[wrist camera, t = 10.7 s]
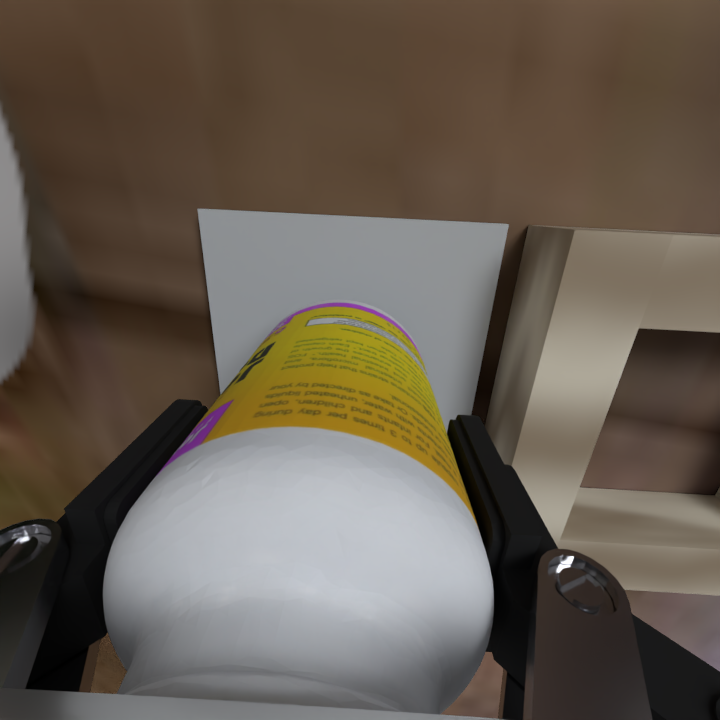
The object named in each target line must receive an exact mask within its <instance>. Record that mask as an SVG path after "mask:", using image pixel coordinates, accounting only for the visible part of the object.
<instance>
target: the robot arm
mask: <svg viewBox="0 0 720 720" xmlns="http://www.w3.org/2000/svg"><path fill="white" fill-rule="evenodd" d="M207 412H208V409H207V407H206V406H202V404H201V402H200V401H198V400H181V399H179V400H176V401H175V402H173V403H172V404H171V405H170V406H169V407H168V408H167V409H166V410H165V411H164V412H163V413H162V414H161V415H160V416H159V417H158V418H157V419H156V420H155V421H154V422H153V423H152V424H151V425H150V426H149V427H148V428H147V429H146V430H145V431H144V432H143V433H142V434H141V435H140V436H139V437H137V438H136V439H135V440H134V441H133V442H132V443H131V444H130V445H129V446H128V447H127V448H126V449H125V450H124V451H123V452H122V453H121V454H120V455H119V456H118V457H117V458H116V459H115V460H114V461H113V462H112V463H111V464H110V465H109V466H108V467H107V468H106V469H105V470H104V471H102V472H101V473H100V474H99V475H98V476H97V477H96V478H95V479H94V480H93V481H92V482H91V483H90V484H89V485H88V486H87V487H86V488H85V489H84V490H83V491H82V492H81V493H80V494H79V495H78V496H77V497H76V498H75V499H74V500H73V501H72V502H71V503H70V504H69V505H67V506H66V507H65V508H64V510H65V512H66V513H65V514H64V515H63V516H62V517H61V518H60V519H59V520H58V521H57V522H55V521H53V520H51V519H34V520H27V521H24V522H20V523H17V524H14V525H11V526H9V527H7V528H4V529H2V530H0V720H720V672H719V671H718V670H716V669H715V668H713V667H712V666H710V665H709V664H707V663H706V662H704V661H703V660H701V659H700V658H698V657H697V656H695V655H694V654H692V653H691V652H689V651H687V650H686V649H684V648H683V647H681V646H680V645H678V644H677V643H675V642H674V641H672V640H671V639H669V638H668V637H666V636H665V635H663V634H662V633H660V632H659V631H657V630H656V629H654V628H653V627H651V626H650V625H648V624H647V623H645V622H643V621H642V620H640V619H639V618H637V617H636V616H634V615H633V614H632V613H631V608H630V603H629V600H628V598H627V595H626V592H625V590H624V589H623V587H622V586H621V584H620V583H619V582H618V580H617V579H616V578H615V577H614V576H613V575H612V574H611V573H610V572H609V571H608V570H607V569H606V568H605V567H604V566H602V565H601V564H599V563H598V562H596V561H595V560H594V559H592V558H590V557H588V556H586V555H584V554H582V553H580V552H576V551H572V550H569V549H558V547H557V545H556V543H555V542H554V540H553V538H552V536H551V534H550V533H549V531H548V529H547V527H546V525H545V524H544V522H543V520H542V518H541V516H540V515H539V513H538V511H537V509H536V507H535V506H534V504H533V502H532V500H531V498H530V496H529V495H528V493H527V491H526V489H525V487H524V486H523V484H522V482H521V480H520V478H519V477H518V475H517V473H516V471H515V470H514V468H513V467H512V466H511V465H507V464H504V463H503V461H502V459H501V457H500V455H499V453H498V451H497V449H496V447H495V445H494V443H493V442H492V440H491V438H490V436H489V434H488V432H487V430H486V428H485V426H484V424H483V423H482V421H481V419H480V417H479V416H474V415H457V417H456V420H454V419H451V420H450V421H449V424H448V430H447V436H448V439H449V442H450V445H451V448H452V450H453V454H454V457H455V460H456V463H457V466H458V469H459V472H460V475H461V478H462V481H463V484H464V487H465V490H466V493H467V496H468V499H469V502H470V504H471V507H472V510H473V513H474V516H475V519H476V522H477V525H478V528H479V532H480V535H481V538H482V542H483V545H484V548H485V551H486V554H487V558H488V561H489V566H490V570H491V575H492V580H493V589H494V614H493V625H492V629H491V634H490V638H489V643H488V646H487V649H486V651H485V652H492V654H493V657H494V660H495V661H496V662H497V663H498V664H499V665H501V666H502V667H503V676H502V685H501V694H500V703H499V712H498V719H494V718H481V717H467V716H452V715H437V714H422V713H408V712H393V711H378V710H363V709H349V708H334V707H318V706H302V705H286V704H270V703H254V702H238V701H222V700H205V699H189V698H172V697H156V696H138V695H120V694H103V693H90V691H91V686H92V681H93V676H94V671H95V666H96V661H97V656H98V652H99V647H100V642H101V638H103V637H104V636H105V635H106V634H107V632H108V631H107V627H106V623H105V616H104V607H103V582H104V574H105V569H106V564H107V559H108V556H109V553H110V549H111V546H112V544H113V541H114V539H115V536H116V534H117V532H118V530H119V528H120V526H121V524H122V523H123V521H124V519H125V517H126V515H127V514H128V512H129V510H130V509H131V508H132V506H133V505H134V504H135V502H136V501H137V500H138V498H139V497H140V496H141V494H142V493H143V492H144V491H145V489H146V488H147V487H148V485H149V484H150V483H151V482H152V480H153V479H154V478H155V477H156V475H157V474H158V473H159V472H160V470H161V469H162V468H163V467H164V465H165V464H166V463H167V462H168V460H169V459H170V458H171V457H172V455H173V454H174V453H175V452H176V450H177V449H178V448H179V447H180V446H181V444H182V443H183V442H184V441H185V439H186V438H187V437H188V436H189V434H190V433H191V432H192V430H193V429H194V428H195V427H196V425H197V424H198V423H199V422H200V420H201V419H202V418H203V417H204V415H205V414H206V413H207Z"/></svg>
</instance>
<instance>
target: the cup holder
mask: <svg viewBox="0 0 720 720" xmlns="http://www.w3.org/2000/svg"><path fill="white" fill-rule="evenodd" d="M639 328H644V329H663V330H682V331H700V332H719V333H720V235H717V234H697V233H677V232H657V231H637V230H617V229H597V228H577V227H557V226H537V225H529V226H528V230H527V235H526V240H525V244H524V249H523V253H522V258H521V263H520V267H519V272H518V276H517V281H516V285H515V290H514V295H513V299H512V304H511V308H510V313H509V318H508V322H507V327H506V331H505V336H504V340H503V345H502V350H501V354H500V359H499V363H498V368H497V373H496V377H495V382H494V386H493V391H492V395H491V400H490V405H489V409H488V414H487V418H486V423H485V428H486V430H487V432H488V434H489V436H490V438H491V440H492V442H493V443H494V445H495V447H496V449H497V451H498V453H499V455H500V457H501V459H502V461H503V463H504V464H507V465H511V466H512V467H513V468H514V470H515V471H516V473H517V475H518V477H519V478H520V480H521V482H522V484H523V486H524V487H525V489H526V491H527V493H528V495H529V496H530V498H531V500H532V502H533V504H534V506H535V507H536V509H537V511H538V513H539V515H540V516H541V518H542V520H543V522H544V524H545V525H546V527H547V529H548V531H549V533H550V534H551V536H552V538H553V540H554V542H555V543H556V545H557V547H558V549H569V550H572V551H576V552H580V553H582V554H584V555H586V556H588V557H590V558H592V559H594V560H595V561H596V562H598V563H599V564H601V565H602V566H604V567H605V568H606V569H607V570H608V571H609V572H610V573H611V574H612V575H613V576H614V577H615V578H616V579H617V580H618V582H619V583H620V584H621V586H622V587H623V589H624V590H640V591H656V592H672V593H688V594H704V595H720V487H719V489H718V491H717V493H716V494H715V495H700V494H683V493H666V492H649V491H632V490H615V489H598V488H581V487H580V484H581V482H582V479H583V476H584V474H585V471H586V468H587V466H588V463H589V460H590V458H591V455H592V452H593V450H594V447H595V444H596V442H597V439H598V436H599V433H600V431H601V428H602V425H603V423H604V420H605V417H606V415H607V412H608V409H609V407H610V404H611V401H612V399H613V396H614V393H615V391H616V388H617V385H618V383H619V380H620V377H621V374H622V372H623V369H624V366H625V364H626V361H627V358H628V356H629V353H630V350H631V348H632V345H633V342H634V340H635V337H636V334H637V332H638V329H639Z"/></svg>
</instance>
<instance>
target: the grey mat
mask: <svg viewBox="0 0 720 720" xmlns="http://www.w3.org/2000/svg"><path fill="white" fill-rule="evenodd" d="M198 217H199V225H200V233H201V241H202V249H203V257H204V265H205V273H206V281H207V289H208V297H209V305H210V314H211V322H212V330H213V338H214V346H215V354H216V362H217V370H218V378H219V386H220V394H222V393H223V391H224V390H225V389H226V387H227V386H228V385H229V384H230V382H231V381H232V380H233V379H234V378H235V376H236V375H237V374H238V373H239V371H240V370H241V368H242V367H243V366H244V365H245V364H246V362H247V361H248V360H249V359H250V357H251V356H252V355H253V353H254V352H255V351H256V350H257V348H258V347H259V346H260V345H261V343H262V342H263V341H264V340H265V338H266V337H267V336H268V335H269V334H270V332H271V331H272V330H273V329H274V328H275V327H276V326H277V325H278V324H279V323H280V322H281V321H282V320H283V319H284V318H285V317H287V316H288V315H290V314H291V313H293V312H294V311H296V310H298V309H300V308H302V307H304V306H306V305H309V304H312V303H315V302H320V301H325V300H352V301H358V302H362V303H365V304H368V305H371V306H374V307H376V308H378V309H380V310H382V311H384V312H386V313H387V314H389V315H390V316H391V317H393V318H394V319H395V320H396V321H398V322H399V323H400V324H401V325H402V326H403V327H404V328H405V329H406V331H407V332H408V333H409V334H410V336H411V337H412V339H413V340H414V342H415V344H416V346H417V348H418V350H419V352H420V355H421V357H422V360H423V362H424V365H425V369H426V372H427V375H428V378H429V381H430V384H431V388H432V390H433V393H434V396H435V399H436V402H437V405H438V408H439V412H440V415H441V417H442V420H443V424H444V426H445V429H446V433H447V430H448V424H449V421H450V420H451V419H454V420H456V417H457V415H471V413H472V408H473V403H474V398H475V393H476V388H477V383H478V378H479V373H480V368H481V363H482V358H483V353H484V348H485V342H486V337H487V332H488V327H489V322H490V317H491V312H492V307H493V302H494V297H495V292H496V287H497V282H498V277H499V272H500V266H501V261H502V256H503V251H504V246H505V241H506V236H507V231H508V226H509V224H497V223H477V222H457V221H437V220H417V219H397V218H377V217H357V216H337V215H317V214H297V213H277V212H257V211H237V210H217V209H198Z"/></svg>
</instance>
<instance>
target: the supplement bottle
mask: <svg viewBox="0 0 720 720" xmlns="http://www.w3.org/2000/svg"><path fill="white" fill-rule="evenodd" d="M103 607H104V616H105V623H106V627H107V631H108V634H109V637H110V640H111V642H112V645H113V647H114V649H115V651H116V653H117V655H118V657H119V659H120V661H121V662H122V664H123V666H124V668H125V669H126V670H127V673H126V675H125V677H124V679H123V681H122V683H121V686H120V688H119V690H118V693H117V694H120V695H138V696H156V697H172V698H189V699H205V700H222V701H238V702H254V703H270V704H286V705H302V706H318V707H334V708H349V709H363V710H378V711H393V712H408V713H422V714H437V715H440V714H441V713H442V712H443V711H444V710H445V709H447V708H448V707H449V706H450V705H451V704H452V703H453V702H454V701H455V700H456V699H457V698H458V696H459V695H460V694H461V693H462V692H463V691H464V690H465V688H466V687H467V685H468V684H469V683H470V681H471V680H472V678H473V676H474V675H475V673H476V671H477V669H478V668H479V666H480V664H481V662H482V659H483V657H484V654H485V651H486V649H487V646H488V643H489V638H490V634H491V629H492V625H493V614H494V589H493V580H492V575H491V570H490V566H489V561H488V558H487V554H486V551H485V548H484V545H483V542H482V538H481V535H480V532H479V528H478V525H477V522H476V519H475V516H474V513H473V510H472V507H471V504H470V502H469V499H468V496H467V493H466V490H465V487H464V484H463V481H462V478H461V475H460V472H459V469H458V466H457V463H456V460H455V457H454V454H453V450H452V448H451V445H450V442H449V439H448V436H447V433H446V429H445V426H444V424H443V420H442V417H441V415H440V412H439V408H438V405H437V402H436V399H435V396H434V393H433V390H432V388H431V384H430V381H429V378H428V375H427V372H426V369H425V365H424V362H423V360H422V357H421V355H420V352H419V350H418V348H417V346H416V344H415V342H414V340H413V339H412V337H411V336H410V334H409V333H408V332H407V331H406V329H405V328H404V327H403V326H402V325H401V324H400V323H399V322H398V321H396V320H395V319H394V318H393V317H391V316H390V315H389V314H387V313H386V312H384V311H382V310H380V309H378V308H376V307H374V306H371V305H368V304H365V303H362V302H358V301H352V300H325V301H320V302H315V303H312V304H309V305H306V306H304V307H302V308H300V309H298V310H296V311H294V312H293V313H291V314H290V315H288V316H287V317H285V318H284V319H283V320H282V321H281V322H280V323H279V324H278V325H277V326H276V327H275V328H274V329H273V330H272V331H271V332H270V334H269V335H268V336H267V337H266V338H265V340H264V341H263V342H262V343H261V345H260V346H259V347H258V348H257V350H256V351H255V352H254V353H253V355H252V356H251V357H250V359H249V360H248V361H247V362H246V364H245V365H244V366H243V367H242V368H241V370H240V371H239V373H238V374H237V375H236V376H235V378H234V379H233V380H232V381H231V382H230V384H229V385H228V386H227V387H226V389H225V390H224V391H223V393H222V394H221V395H220V396H219V398H218V399H217V400H216V401H215V403H214V404H213V405H212V407H211V408H210V409H209V410H208V412H207V413H206V414H205V415H204V417H203V418H202V419H201V420H200V422H199V423H198V424H197V425H196V427H195V428H194V429H193V430H192V432H191V433H190V434H189V436H188V437H187V438H186V439H185V441H184V442H183V443H182V444H181V446H180V447H179V448H178V449H177V450H176V452H175V453H174V454H173V455H172V457H171V458H170V459H169V460H168V462H167V463H166V464H165V465H164V467H163V468H162V469H161V470H160V472H159V473H158V474H157V475H156V477H155V478H154V479H153V480H152V482H151V483H150V484H149V485H148V487H147V488H146V489H145V491H144V492H143V493H142V494H141V496H140V497H139V498H138V500H137V501H136V502H135V504H134V505H133V506H132V508H131V509H130V510H129V512H128V514H127V515H126V517H125V519H124V521H123V523H122V524H121V526H120V528H119V530H118V532H117V534H116V536H115V539H114V541H113V544H112V546H111V549H110V553H109V556H108V559H107V564H106V569H105V574H104V582H103Z"/></svg>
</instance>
